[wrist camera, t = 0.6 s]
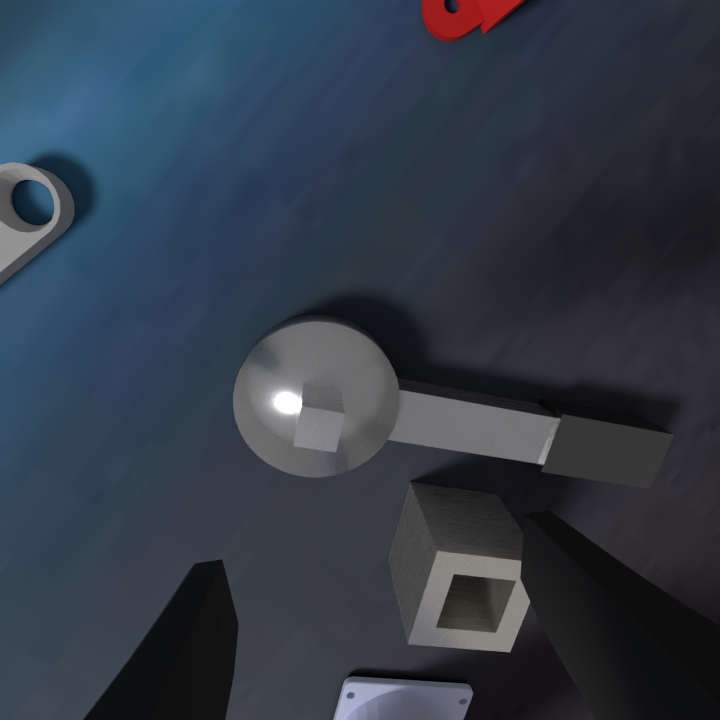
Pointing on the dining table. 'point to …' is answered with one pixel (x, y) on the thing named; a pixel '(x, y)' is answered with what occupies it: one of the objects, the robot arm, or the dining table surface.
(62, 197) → the adjustable wrench
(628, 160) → the dining table surface
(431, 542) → the socket
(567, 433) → the ratchet
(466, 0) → the pipe clamp
